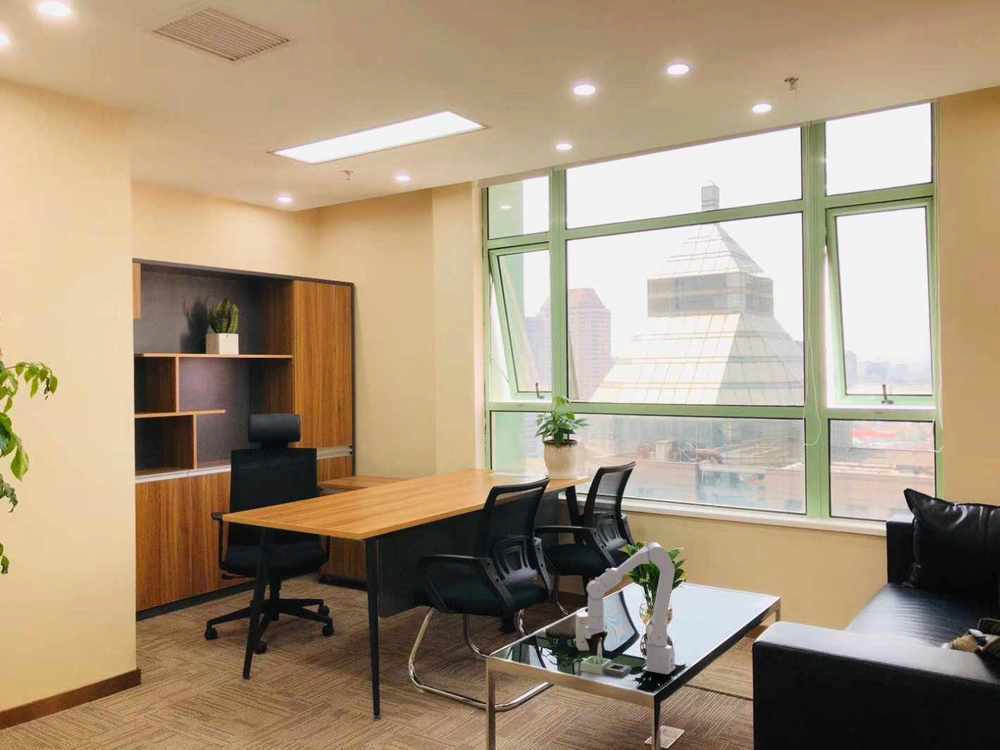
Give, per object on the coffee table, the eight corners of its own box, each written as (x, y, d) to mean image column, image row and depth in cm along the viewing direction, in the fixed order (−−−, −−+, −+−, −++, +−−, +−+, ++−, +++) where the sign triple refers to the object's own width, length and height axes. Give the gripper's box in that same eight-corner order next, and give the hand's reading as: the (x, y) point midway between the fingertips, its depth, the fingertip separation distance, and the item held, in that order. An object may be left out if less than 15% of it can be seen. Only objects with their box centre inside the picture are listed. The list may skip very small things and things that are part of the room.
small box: (596, 645, 320) (595, 611, 320) (599, 650, 313) (599, 615, 314) (575, 645, 319) (575, 612, 319) (578, 650, 312) (578, 616, 313)
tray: (611, 667, 292) (611, 659, 292) (601, 674, 286) (601, 666, 286) (591, 664, 297) (590, 656, 297) (581, 670, 290) (581, 662, 290)
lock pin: (605, 662, 291) (603, 636, 292) (600, 665, 288) (599, 639, 289) (595, 661, 293) (593, 635, 294) (590, 664, 290) (588, 638, 291)
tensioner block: (630, 671, 288) (630, 666, 288) (622, 677, 282) (622, 671, 282) (612, 668, 292) (612, 662, 292) (603, 674, 286) (603, 668, 286)
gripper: (594, 609, 300) (594, 646, 299) (576, 618, 288) (577, 657, 287) (612, 611, 296) (612, 649, 296) (594, 621, 284) (595, 660, 283)
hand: (596, 653), depth 291 cm, fingers closed on lock pin, 4 cm apart
